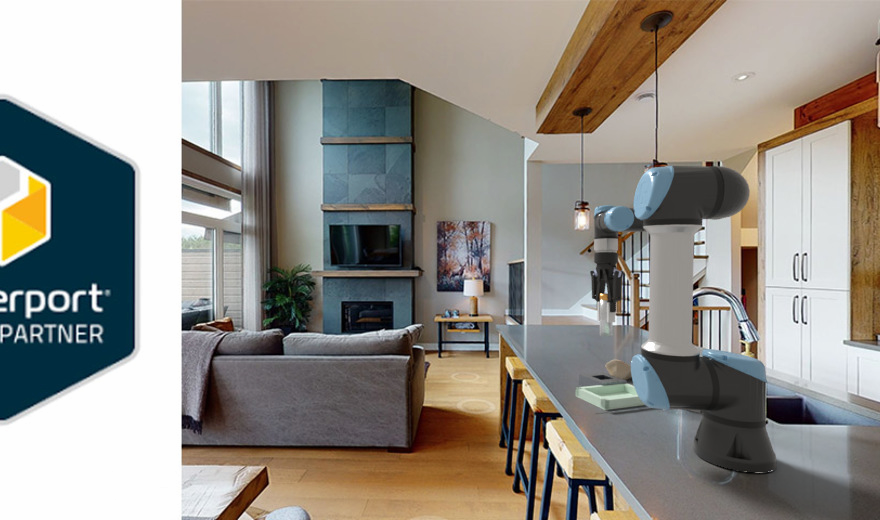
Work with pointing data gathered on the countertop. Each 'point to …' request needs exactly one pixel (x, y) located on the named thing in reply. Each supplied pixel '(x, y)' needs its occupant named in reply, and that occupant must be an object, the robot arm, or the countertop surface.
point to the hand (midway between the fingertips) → (606, 321)
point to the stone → (619, 369)
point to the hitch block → (599, 379)
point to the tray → (610, 396)
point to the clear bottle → (605, 317)
